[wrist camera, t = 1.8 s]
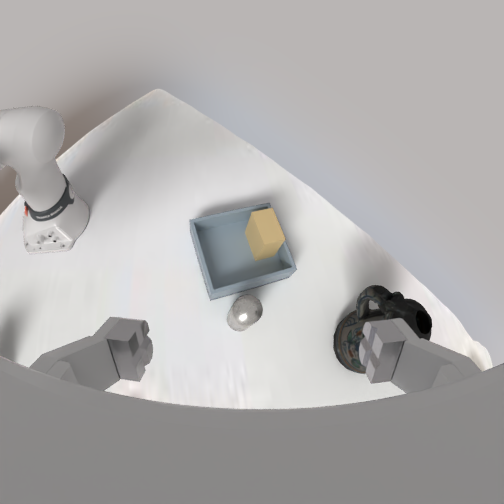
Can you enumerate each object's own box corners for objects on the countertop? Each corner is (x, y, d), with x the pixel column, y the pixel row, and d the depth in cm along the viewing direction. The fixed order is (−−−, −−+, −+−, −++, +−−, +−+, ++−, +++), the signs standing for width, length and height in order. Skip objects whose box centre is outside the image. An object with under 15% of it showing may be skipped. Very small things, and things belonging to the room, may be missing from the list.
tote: (210, 300, 63) (211, 294, 57) (190, 231, 68) (189, 220, 63) (289, 277, 68) (296, 269, 63) (264, 214, 74) (269, 202, 68)
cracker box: (255, 261, 67) (264, 244, 58) (244, 232, 70) (251, 212, 61) (274, 256, 69) (285, 239, 60) (263, 228, 71) (272, 207, 62)
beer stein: (373, 381, 61) (442, 379, 38) (311, 356, 61) (370, 348, 39) (390, 324, 68) (456, 302, 45) (334, 296, 68) (392, 261, 46)
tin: (231, 334, 60) (238, 328, 50) (223, 311, 62) (228, 299, 51) (254, 326, 62) (266, 318, 51) (246, 304, 64) (256, 291, 53)
